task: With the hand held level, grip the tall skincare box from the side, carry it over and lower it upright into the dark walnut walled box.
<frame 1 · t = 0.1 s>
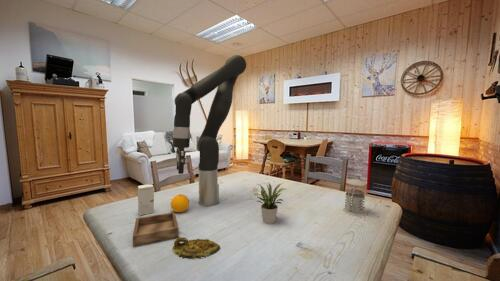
hand: (179, 171, 98), 17 cm above the table, tool pointing down, fingers open, 8 cm apart
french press: (353, 213, 96), on the table
house plant: (272, 220, 87), on the table
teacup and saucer: (257, 197, 116), on the table
walnut box: (156, 232, 78), on the table
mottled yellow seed: (196, 251, 67), on the table
orange: (180, 211, 96), on the table
skincare box: (146, 212, 94), on the table
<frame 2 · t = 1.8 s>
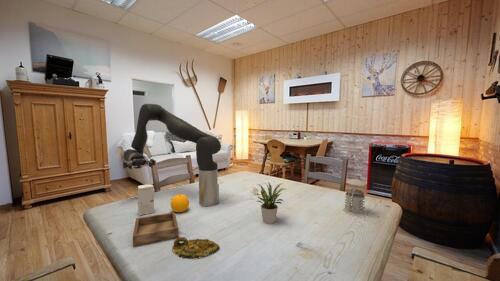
hand: (141, 165, 101), 19 cm above the table, tool horizontal, fingers open, 8 cm apart
nothing on the table moved.
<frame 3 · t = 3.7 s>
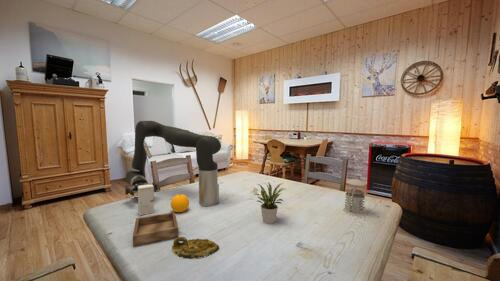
hand: (143, 192, 100), 7 cm above the table, tool horizontal, fingers open, 8 cm apart
nothing on the table moved.
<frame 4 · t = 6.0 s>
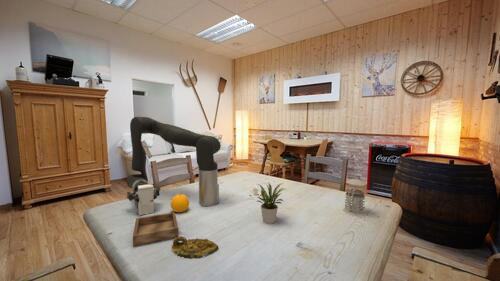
hand: (146, 198, 91), 7 cm above the table, tool horizontal, fingers closed on skincare box, 6 cm apart
skincare box: (146, 212, 94), on the table, touching gripper
everything else where it was.
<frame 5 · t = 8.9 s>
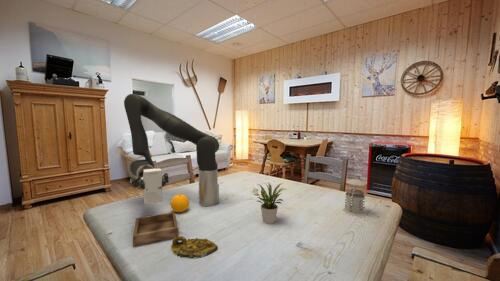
hand: (153, 184, 76), 18 cm above the table, tool horizontal, fingers closed on skincare box, 6 cm apart
skincare box: (153, 201, 79), point 11 cm above the table, touching gripper
everything else where it was.
when the fingers open (9 cm above the table, at t = 11.9 s): skincare box drops 1 cm, resting on walnut box.
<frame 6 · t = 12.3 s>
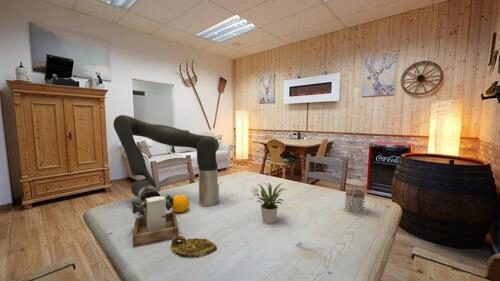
hand: (156, 210, 75), 9 cm above the table, tool horizontal, fingers open, 8 cm apart
skincare box: (156, 230, 78), resting on walnut box
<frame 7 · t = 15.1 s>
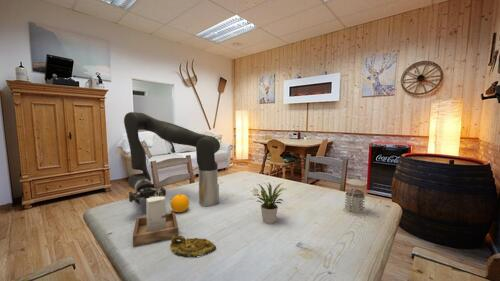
hand: (150, 199, 86), 9 cm above the table, tool horizontal, fingers open, 8 cm apart
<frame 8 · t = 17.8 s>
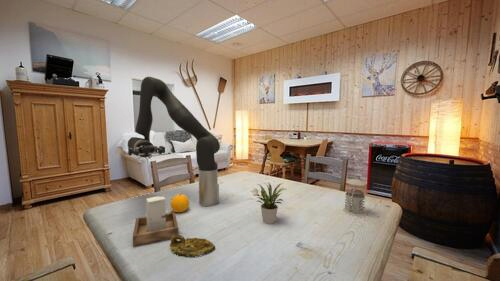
hand: (149, 152, 85), 28 cm above the table, tool horizontal, fingers open, 8 cm apart
at the end: skincare box inside the target area on the walnut box (0.2 cm from its centre), point 0.4 cm above the walnut box's base; skincare box tilted 0°; the gripper is holding nothing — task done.
